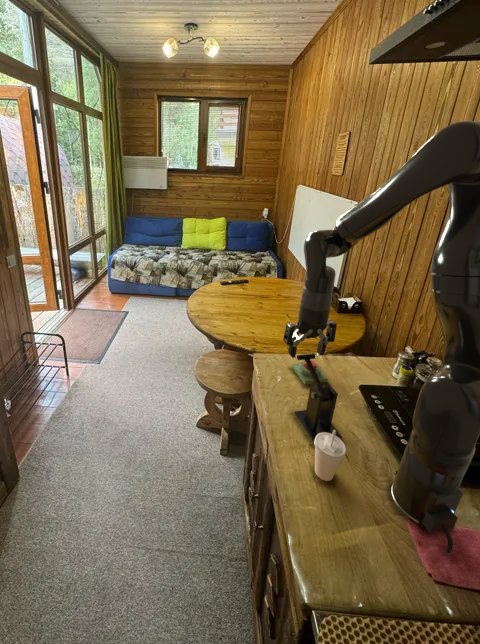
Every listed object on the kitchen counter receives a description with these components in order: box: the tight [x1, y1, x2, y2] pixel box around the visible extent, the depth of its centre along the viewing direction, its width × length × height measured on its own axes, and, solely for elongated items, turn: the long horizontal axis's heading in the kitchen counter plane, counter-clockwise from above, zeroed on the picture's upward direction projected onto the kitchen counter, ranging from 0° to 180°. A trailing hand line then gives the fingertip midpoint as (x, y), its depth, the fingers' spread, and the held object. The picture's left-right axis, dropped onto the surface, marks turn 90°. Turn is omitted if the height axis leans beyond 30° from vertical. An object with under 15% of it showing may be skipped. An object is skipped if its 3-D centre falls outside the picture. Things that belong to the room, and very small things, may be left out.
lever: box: [296, 353, 331, 402], centre depth 84 cm, size 13×5×2 cm, turn 10°
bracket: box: [294, 382, 342, 443], centre depth 81 cm, size 10×8×13 cm
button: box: [305, 359, 318, 370], centre depth 102 cm, size 4×4×2 cm
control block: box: [291, 360, 329, 385], centre depth 103 cm, size 9×8×4 cm
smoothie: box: [313, 429, 347, 482], centre depth 68 cm, size 6×6×14 cm
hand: (306, 355), depth 87 cm, fingers open, 8 cm apart
